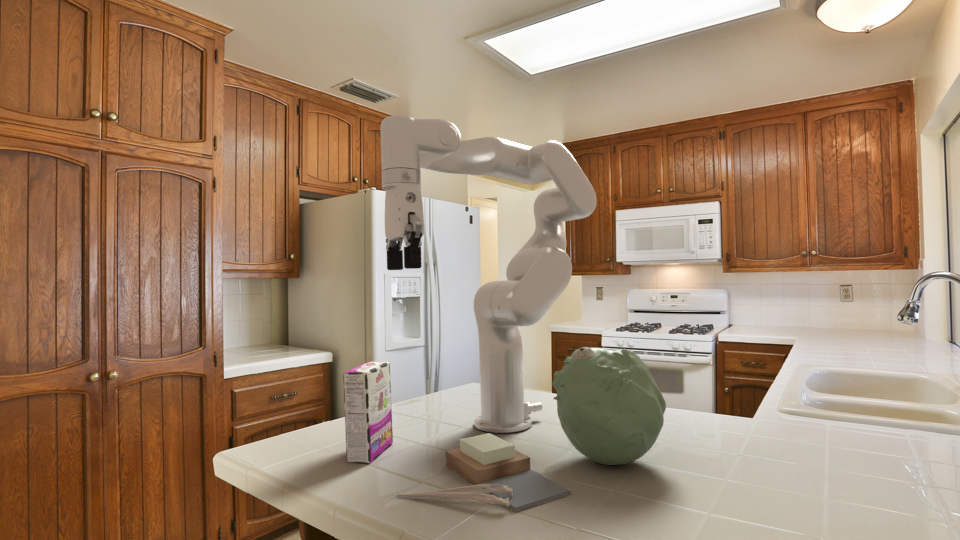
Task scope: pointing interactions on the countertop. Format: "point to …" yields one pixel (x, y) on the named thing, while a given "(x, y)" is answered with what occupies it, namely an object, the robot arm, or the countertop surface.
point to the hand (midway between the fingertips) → (403, 269)
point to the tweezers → (468, 493)
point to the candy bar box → (367, 411)
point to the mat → (529, 489)
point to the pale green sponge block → (487, 448)
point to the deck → (485, 466)
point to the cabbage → (609, 404)
